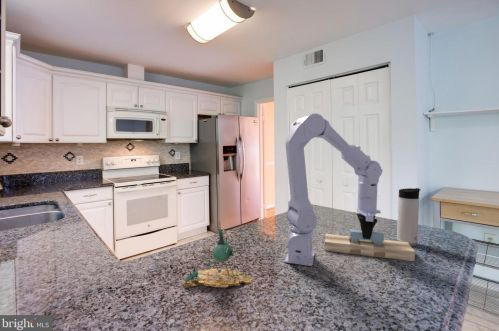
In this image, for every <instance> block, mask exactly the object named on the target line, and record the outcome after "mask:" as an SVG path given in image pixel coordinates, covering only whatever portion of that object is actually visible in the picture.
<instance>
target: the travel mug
mask: <svg viewBox="0 0 499 331" xmlns="http://www.w3.org/2000/svg"><path fill="white" fill-rule="evenodd" d="M420 191H421V188H418V187H415V188H411V187H409V188H400V189H398V198H397V199H398V201H397V222H396V225H397V226H396V241H400V242H408V244H409V245H410V246H411V247H416V246H418V238H419V236H418V235H419V233H418V232H419V216H420V215H419V211H420Z"/></svg>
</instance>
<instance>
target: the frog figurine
mask: <svg viewBox="0 0 499 331" xmlns="http://www.w3.org/2000/svg"><path fill="white" fill-rule="evenodd" d="M217 233H218V237H219V239H218V240H217V242H216V244H215V245H214V246H213V249H212V256H211V257H209V259H207V258H204V259H202V260H201V263H202V262H204V261H205V260H206V261H207V263H208V264H207V266H206V269H205V270H199V271H198V269H196V267H195V265H193V267H192V268H193V269H192V271H189V273H188V275H187V276H186V277H185V280H184V281H182V282H183V283H182V284H181V285H182V286H183V287H186V288H189V287H196V286H205V287H212V288H213V287H214V288H229V287H233V286H240V285H241V284H242V283H245V284H250V283H251V284H252V283H253V281H252V280H253V278H251V277H249V276H247V275H244V273H243V272H242V271H238V270H233V269H232V267H231V265H230V264H228V263H226V262H227V261H228V260H230V259H231V257H233V256H235V253H234V252H237V253H238V252H239V249H235V250H233V249H234V248H232V247H231V245H230V241H229V240H228V236H225V239H224V235H223V233H224V232H223V229H222V228H221V227H220V228H218V229H217ZM211 259H214V261H211ZM217 262H218V263H217ZM220 263H222V264H223V265H224V267H225V268H224V269H219V267H218V266H217V265H220ZM210 264H211V265H214V266H215V268H211V267H210ZM228 267H229V268H228Z"/></svg>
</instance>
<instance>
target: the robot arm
mask: <svg viewBox="0 0 499 331" xmlns="http://www.w3.org/2000/svg"><path fill="white" fill-rule="evenodd" d="M314 138H317V139H319V138H320V139H323V140H325V141H326V143H329V145H331V146H332V147H333V148H335V149H336V150H337V151H339V152H340V155H341V159H342V160H343V161H344V162H346V163H347V164H348V165H349V167H351V168H352V169H353V170H354V173H355V175H356V176H358V179H357V180H358V182H357V208H356V212H357V213H356V216H357V220H358V221H359V224H360V230H362V235H363V239H370V238H371V235H372V231H373V232H374V228H375V226H376V224H377V223H378V219H377V218H376V215H377V214H381V210H380V209H377V208H378V207H377V205H378V184H379V182H380V177H381V176H382V173H383V170H384V169H382V167H381V164H380V163H379V162H378V161H377V160H372V159H371V156H370V155H367V154H366V153H365V152H363V151H362V150H361V146H360V145H356V144H350V143H348V142H347V141H346V140H345V139H344V138H343V137H342V136H341V134H339V133H338V132H337V131H336V130H335V129H334V128H333V127H332V126H331V124H330V122H329V120H327V119H325V118H324V117H323V115H321V114H319V113H310V114H309V115H307V116H301V117H299V118H297V119H296V120H295V121H293V123H291V125H290V130H289V133H288V135H287V137H286V140H285V152H286V162H287V171H288V181H289V182H288V184H289V192H290V193H289V195H290V199H289V201H288V203H287V205H288V208H287V211H286V219H287V221H288V222H289V226H288V244H287V246H288V248H287V250H288V252H287V255H286V257H285V259H284V262H285V263H289V264H294V265H301V266H308V267H312V266H313V262H314V257H315V251H313V236H314V233H313V232H314V230H315V228H316V227H317V224H318V221H317V220H318V219H317V216H316V215H315V212H314V208H313V205H312V203H311V201H310V199H309V192H308V190H309V189H308V181H307V180H308V179H307V170H306V169H307V168H306V160H305V158H306V157H305V156H306V155H305V147H306V146H307V144H308V143H309V142H310V141H311V140H313V139H314Z"/></svg>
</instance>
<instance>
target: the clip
mask: <svg viewBox="0 0 499 331" xmlns="http://www.w3.org/2000/svg"><path fill="white" fill-rule="evenodd" d="M349 236H350V239H352V242H354V243H358V239H359V240H369V241H374V245H381V244H382V242H384V240H385V234H384V232H382V231H381V232H380V231H374V230H373V231H372V235H371V238H370V239H363V235H362V230H361V229H360V230H359V229H351V228H350V229H349Z"/></svg>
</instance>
